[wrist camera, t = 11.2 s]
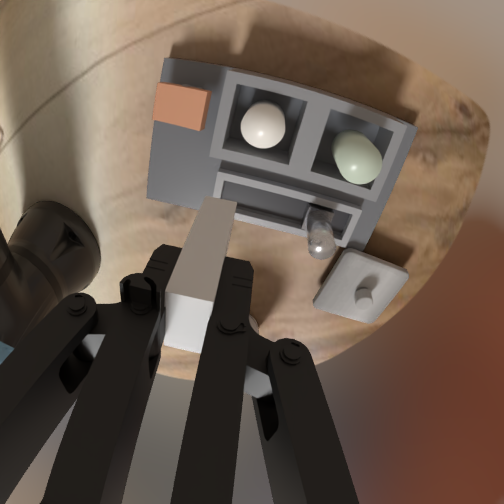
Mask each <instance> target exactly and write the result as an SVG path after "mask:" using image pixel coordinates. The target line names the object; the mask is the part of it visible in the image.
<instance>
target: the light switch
mask: <svg viewBox="0 0 504 504" xmlns="http://www.w3.org/2000/svg"><path fill="white" fill-rule="evenodd" d="M408 278H409V274H408V271H407V269H405V268H402V267H400V266H397V265H395V264H392V263H390V262H387V261H385V260H382V259H379V258H377V257H374V256H372V255H369V254H366V253H364V252H361V251H358V250H356V249H353V248H347V249H345V250H344V251H343V252H342V254H341V256H340V257H339V259H338V261H337V262H336V264H335V265H334V267H333V269H332V270H331V272H330V274H329V275H328V277H327V278H326V280H325V282H324V283H323V285H322V286H321V288H320V289H319V291H318V293H317V294H316V296H315V297H314V299H313V306H314V307H315V308H316V309H320V310H323V311H326V312H329V313H333V314H336V315H340V316H343V317H347V318H350V319H354V320H357V321H361V322H365V323H373V322H374V321H375V320H376V319H377V318H378V317H379V315H380V314H381V313H382V312H383V310H384V309H385V308H386V307H387V306H388V304H389V303H390V302H391V300H392V299H393V298H394V297H395V295H396V294H397V293H398V292H399V290H400V289H401V288H402V286H403V285H404V284H405V282H406V281H407V280H408Z"/></svg>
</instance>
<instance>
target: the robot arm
mask: <svg viewBox="0 0 504 504" xmlns="http://www.w3.org/2000/svg"><path fill="white" fill-rule="evenodd" d="M236 206H237V202H234V201H229V200H224V199H220V198H215V197H210V196H205V198H204V201H203V203H202V205H201V207H200V209H199V212H198V214H197V216H196V218H195V221H194V223H193V225H192V228H191V230H190V232H189V234H188V237H187V239H186V241H185V244H184V246H183V248H179V247H175V246H170V245H165V244H162V245H161V246H160V247H158V248H157V249H156V250H154V252H153V254H152V256H151V258H150V261H148V263H147V265H146V267H145V269H144V271H143V273H135V274H130V275H128V276H126V277H124V278H123V279H122V280H121V281H120V294H121V302H119V303H114V304H96V302H95V300H94V298H93V297H91V296H90V295H88V294H85V293H78V292H80V291H82V290H83V289H85V288H86V287H88V286H89V285H90V283H91V282H92V281H93V279H94V278H95V276H96V275H97V273H98V271H99V267H100V252H99V248H98V245H97V242H96V240H95V238H94V236H93V234H92V232H91V231H90V229H89V228H88V226H87V225H86V224H85V223H84V221H83V220H82V219H81V218H80V217H79V216H78V215H77V214H75V213H74V212H73V211H72V210H70V209H69V208H67V207H65V206H63V205H61V204H59V203H56V202H52V201H42V202H38V203H36V204H34V205H33V206H32V207H30V208H29V209H28V210H27V211H26V212H25V213H24V214H23V215H22V216H21V218H20V220H19V222H18V224H17V227H16V229H15V230H14V232H13V234H12V236H11V238H10V240H9V242H8V244H7V242H6V240H5V238H4V235H3V233H2V231H1V229H0V504H5V503H6V501H7V499H8V498H9V496H10V495H11V493H12V492H13V490H14V489H15V487H16V485H17V484H18V482H19V481H20V479H21V478H22V476H23V475H24V473H25V472H26V470H27V469H28V467H29V466H30V464H31V463H32V461H33V460H34V458H35V457H36V456H37V454H38V453H39V451H40V450H41V448H42V447H43V445H44V444H45V443H46V441H47V440H48V438H49V437H50V435H51V434H52V433H53V431H54V430H55V428H56V427H57V425H58V424H59V423H60V421H61V420H62V418H63V417H64V416H65V414H66V413H67V412H68V410H69V409H70V408H71V406H72V405H73V403H74V402H75V401H76V399H77V398H78V399H77V401H76V404H75V406H74V409H73V411H72V414H71V416H70V419H69V422H68V425H67V428H66V430H65V432H64V435H63V438H62V441H61V444H60V447H59V449H58V452H57V455H56V458H55V461H54V464H53V467H52V470H51V474H50V477H49V480H48V483H47V487H46V490H45V494H44V497H43V499H42V501H41V503H40V504H121V503H122V499H123V494H124V490H125V486H126V482H127V478H128V473H129V470H130V466H131V461H132V458H133V454H134V450H135V446H136V442H137V438H138V435H139V431H140V427H141V423H142V420H143V416H144V413H145V409H146V405H147V402H148V398H149V395H150V392H151V388H152V385H153V381H154V378H155V374H156V371H157V368H158V365H159V361H160V358H161V346H162V343H163V340H164V345H166V346H170V347H174V348H178V349H183V350H187V351H191V352H196V353H201V355H200V360H199V364H198V369H197V373H196V378H195V383H194V387H193V392H192V397H191V401H190V406H189V411H188V416H187V421H186V426H185V430H184V435H183V440H182V445H181V450H180V455H179V460H178V466H177V471H176V476H175V481H174V487H173V492H172V497H171V503H170V504H232V496H233V487H234V477H235V468H236V459H237V449H238V440H239V431H240V421H241V412H242V402H243V393H244V392H245V393H247V394H249V395H251V396H252V400H253V405H254V410H255V415H256V420H257V425H258V430H259V435H260V440H261V445H262V449H263V455H264V460H265V464H266V468H267V474H268V478H269V483H270V487H271V492H272V497H273V502H274V504H359V502H358V498H357V495H356V492H355V488H354V485H353V482H352V479H351V475H350V473H349V469H348V466H347V463H346V460H345V457H344V453H343V450H342V447H341V444H340V441H339V438H338V435H337V432H336V428H335V425H334V422H333V419H332V416H331V413H330V410H329V407H328V404H327V401H326V398H325V395H324V392H323V389H322V386H321V383H320V380H319V377H318V374H317V371H316V369H315V365H314V362H313V359H312V356H311V354H310V352H309V350H308V348H307V347H306V346H305V345H304V344H302V343H301V342H299V341H297V340H295V339H289V338H284V339H279V340H277V341H276V342H272V341H270V340H268V339H266V338H264V337H262V336H260V335H259V334H258V333H257V332H255V331H254V329H253V328H252V326H251V324H250V322H249V313H250V303H251V293H252V283H253V274H254V270H253V268H252V266H251V264H250V262H249V261H245V260H240V259H235V258H230V257H226V254H227V250H228V245H229V240H230V235H231V230H232V225H233V220H234V216H235V211H236Z"/></svg>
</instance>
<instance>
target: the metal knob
mask: <svg viewBox="0 0 504 504" xmlns="http://www.w3.org/2000/svg"><path fill="white" fill-rule="evenodd" d="M334 214H335V213H334V210H333V209H332V208H328V207H325V206H321V205H318V204H314V203H311V202H308V205H307V207H306V210H305V213H304V216H303V218H302V221H301V229H303V230H306V231H307V241H308V250H309V253H310V255H311V256H312V257H314V258H316V259H320V260H322V259H327V258H329V257H331V256H332V255H333V254H334V253H335V250H336V244H335V239H334V235H333V231H332V226H331V221H332V219H333V216H334Z"/></svg>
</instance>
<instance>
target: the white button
mask: <svg viewBox="0 0 504 504" xmlns="http://www.w3.org/2000/svg"><path fill="white" fill-rule="evenodd" d="M241 132H242V135H243V137H244V139H245V140H246V141H247V142H248V143H249V144H251V145H252V146H254V147H257V148H270V147H272V146H275V145H276V144H278V143H279V142H280V141H281V139H282V138H283V136H284V133H285V115H284V112H283V110H282V108H281V107H280V106H279V105H278V104H277V103H275V102H273V101H269V100H261V101H257V102H255V103H254V104H252V105H251V106H250V107H249V109H248V111H247V112H246V114H245V115H244V117H243V119H242V122H241Z"/></svg>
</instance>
